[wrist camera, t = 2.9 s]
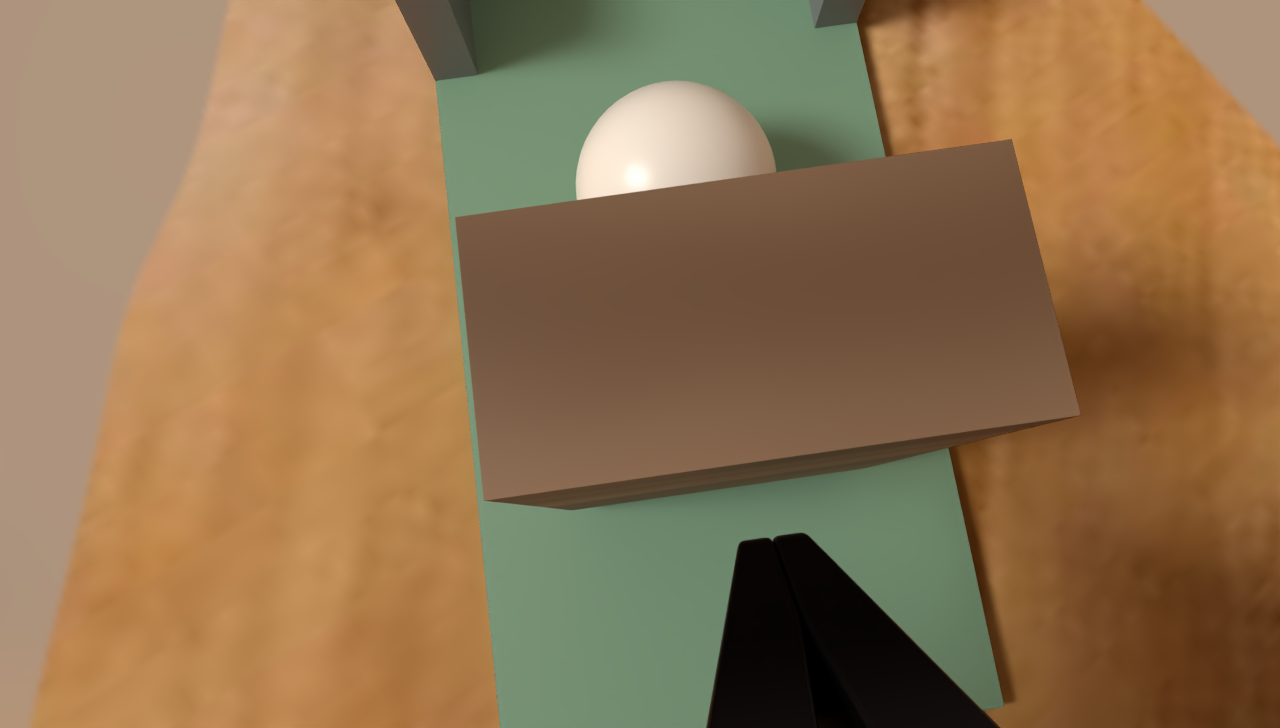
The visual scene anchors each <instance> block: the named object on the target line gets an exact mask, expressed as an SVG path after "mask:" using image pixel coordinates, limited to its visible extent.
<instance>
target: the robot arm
mask: <svg viewBox="0 0 1280 728" xmlns="http://www.w3.org/2000/svg"><path fill="white" fill-rule="evenodd" d="M706 728H1000V727H999V726H998V725H997V724H996V723H995V722H994V721H993V720H992V719H991V718H990V717H989V716H988V715H987V714H986V713H985V712H984V711H983V710H982V709H981V708H980V707H979V706H978V705H977V704H976V703H975V702H974V701H973V700H972V699H971V698H970V697H969V696H968V695H967V694H966V693H965V692H964V691H963V690H962V689H961V688H960V687H959V686H958V685H957V684H956V683H955V682H954V681H953V680H952V679H951V678H950V677H949V676H948V675H947V674H946V673H945V672H944V671H943V670H942V669H941V668H940V667H939V666H938V665H937V664H936V663H935V662H934V661H933V660H932V659H931V658H930V657H929V656H928V655H927V654H926V653H925V652H924V651H923V650H922V649H921V648H920V647H919V646H918V645H917V644H916V643H915V642H914V641H913V640H912V639H911V638H910V637H909V636H908V635H907V634H906V633H905V632H904V631H903V630H902V629H901V628H900V627H899V626H898V625H897V624H896V623H895V622H894V621H893V620H892V619H891V618H890V617H889V616H888V615H887V614H886V613H885V612H884V611H883V610H882V609H881V608H880V607H879V606H878V605H877V604H876V603H875V602H874V600H873V599H872V598H871V597H870V596H869V595H868V594H867V593H866V592H865V591H864V590H863V589H862V588H861V587H860V586H859V585H858V584H857V583H856V582H855V581H854V580H853V579H852V578H851V577H850V576H849V575H848V574H847V573H846V572H845V571H844V570H843V569H842V568H841V567H840V566H839V565H838V564H837V563H836V562H835V561H834V560H833V559H832V558H831V557H830V556H829V555H828V554H827V553H826V552H825V551H824V550H823V549H822V548H821V547H820V546H819V545H818V544H817V543H816V542H815V541H814V540H813V539H812V538H811V537H810V536H809V535H807V534H805V533H793V534H786V535H779V536H776V537H775V538H774V539H773V541H772V540H771V539H770V538H758V539H751V540H744V541H741V542H740V543H739V545H738V548H737V554H736V560H735V565H734V571H733V577H732V582H731V588H730V594H729V600H728V605H727V611H726V617H725V622H724V628H723V634H722V639H721V645H720V651H719V657H718V662H717V668H716V674H715V679H714V685H713V691H712V697H711V702H710V708H709V714H708V719H707V725H706Z"/></svg>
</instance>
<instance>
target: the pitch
mask: <svg viewBox="0 0 1280 728" xmlns="http://www.w3.org/2000/svg"><path fill="white" fill-rule="evenodd" d="M470 9H471V18H472V27H473V36H474V45H475V54H476V63H477V72H478V75H475V76H467V77H460V78H453V79H446V80H438V81H436V90H437V100H438V110H439V120H440V130H441V140H442V150H443V160H444V170H445V180H446V190H447V200H448V210H449V220H450V230H451V240H452V250H453V260H454V270H455V280H456V290H457V300H458V310H459V320H460V330H461V340H462V350H463V360H464V370H465V380H466V390H467V400H468V410H469V420H470V431H471V441H472V451H473V461H474V471H475V481H476V491H477V501H478V511H479V521H480V531H481V541H482V551H483V561H484V571H485V581H486V591H487V601H488V611H489V621H490V631H491V641H492V651H493V661H494V671H495V681H496V691H497V701H498V711H499V721H500V728H706V725H707V719H708V714H709V708H710V702H711V697H712V691H713V685H714V679H715V674H716V668H717V662H718V657H719V651H720V645H721V639H722V634H723V628H724V622H725V617H726V611H727V605H728V600H729V594H730V588H731V582H732V577H733V571H734V565H735V560H736V554H737V548H738V545H739V543H740V542H741V541H744V540H751V539H758V538H770V539H771V540H772V541H773V539H774V538H775V537H776V536H779V535H786V534H793V533H805V534H807V535H809V536H810V537H811V538H812V539H813V540H814V541H815V542H816V543H817V544H818V545H819V546H820V547H821V548H822V549H823V550H824V551H825V552H826V553H827V554H828V555H829V556H830V557H831V558H832V559H833V560H834V561H835V562H836V563H837V564H838V565H839V566H840V567H841V568H842V569H843V570H844V571H845V572H846V573H847V574H848V575H849V576H850V577H851V578H852V579H853V580H854V581H855V582H856V583H857V584H858V585H859V586H860V587H861V588H862V589H863V590H864V591H865V592H866V593H867V594H868V595H869V596H870V597H871V598H872V599H873V600H874V602H875V603H876V604H877V605H878V606H879V607H880V608H881V609H882V610H883V611H884V612H885V613H886V614H887V615H888V616H889V617H890V618H891V619H892V620H893V621H894V622H895V623H896V624H897V625H898V626H899V627H900V628H901V629H902V630H903V631H904V632H905V633H906V634H907V635H908V636H909V637H910V638H911V639H912V640H913V641H914V642H915V643H916V644H917V645H918V646H919V647H920V648H921V649H922V650H923V651H924V652H925V653H926V654H927V655H928V656H929V657H930V658H931V659H932V660H933V661H934V662H935V663H936V664H937V665H938V666H939V667H940V668H941V669H942V670H943V671H944V672H945V673H946V674H947V675H948V676H949V677H950V678H951V679H952V680H953V681H954V682H955V683H956V684H957V685H958V686H959V687H960V688H961V689H962V690H963V691H964V692H965V693H966V694H967V695H968V696H969V697H970V698H971V699H972V700H973V701H974V702H975V703H976V704H977V705H978V706H979V707H980V708H981V709H982V710H986V709H993V708H1000V707H1004V703H1003V698H1002V694H1001V689H1000V685H999V680H998V675H997V671H996V666H995V661H994V657H993V652H992V648H991V643H990V638H989V634H988V629H987V624H986V620H985V615H984V610H983V606H982V601H981V597H980V592H979V587H978V583H977V578H976V573H975V569H974V564H973V560H972V555H971V550H970V546H969V541H968V536H967V532H966V527H965V522H964V518H963V513H962V509H961V504H960V499H959V495H958V490H957V485H956V481H955V476H954V472H953V467H952V462H951V458H950V453H949V448H945V449H941V450H937V451H933V452H929V453H925V454H921V455H917V456H913V457H909V458H905V459H900V460H896V461H892V462H888V463H884V464H880V465H876V466H872V467H868V468H864V469H858V470H851V471H844V472H837V473H830V474H823V475H816V476H809V477H802V478H795V479H788V480H781V481H774V482H767V483H760V484H753V485H746V486H739V487H732V488H725V489H718V490H711V491H704V492H697V493H690V494H683V495H676V496H669V497H662V498H655V499H648V500H641V501H634V502H627V503H620V504H614V505H607V506H600V507H593V508H586V509H579V510H563V509H554V508H545V507H536V506H527V505H518V504H509V503H500V502H491V501H484V498H483V488H482V478H481V469H480V459H479V449H478V439H477V429H476V419H475V409H474V399H473V390H472V380H471V370H470V360H469V350H468V340H467V330H466V320H465V311H464V301H463V291H462V281H461V271H460V261H459V251H458V241H457V232H456V222H455V217H460V216H467V215H474V214H482V213H489V212H496V211H503V210H510V209H517V208H524V207H532V206H539V205H546V204H553V203H560V202H567V201H574V200H577V196H576V171H577V166H578V162H579V157H580V153H581V150H582V148H583V145H584V142H585V140H586V138H587V136H588V135H589V133H590V131H591V129H592V128H593V126H594V125H595V123H596V122H597V121H598V119H599V118H600V117H601V116H602V114H603V113H604V112H605V111H606V110H607V109H608V108H609V107H610V106H612V105H613V104H614V103H615V102H616V101H618V100H619V99H621V98H622V97H624V96H626V95H627V94H629V93H630V92H632V91H634V90H637V89H639V88H641V87H644V86H647V85H650V84H653V83H658V82H663V81H675V80H677V81H691V82H697V83H701V84H705V85H708V86H711V87H714V88H716V89H718V90H721V91H722V92H724V93H726V94H728V95H729V96H731V97H732V98H734V99H735V100H736V101H738V102H739V103H740V104H741V105H743V106H744V107H745V108H746V109H747V110H748V111H749V112H750V113H751V114H752V115H753V117H754V118H755V119H756V120H757V122H758V123H759V124H760V126H761V128H762V130H763V131H764V133H765V135H766V137H767V139H768V141H769V144H770V146H771V149H772V152H773V156H774V160H775V165H776V172H782V171H789V170H796V169H803V168H810V167H817V166H824V165H832V164H839V163H846V162H853V161H860V160H867V159H874V158H881V157H885V152H884V147H883V143H882V138H881V133H880V129H879V124H878V120H877V115H876V110H875V106H874V101H873V96H872V92H871V87H870V83H869V78H868V73H867V69H866V64H865V59H864V55H863V50H862V45H861V41H860V36H859V32H858V27H857V23H850V24H843V25H835V26H828V27H821V28H814V23H813V18H812V13H811V8H810V3H809V0H470Z"/></svg>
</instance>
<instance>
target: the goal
mask: <svg viewBox="0 0 1280 728" xmlns="http://www.w3.org/2000/svg"><path fill="white" fill-rule="evenodd" d="M395 1H396V3H397V5H398V7H399V9H400V11H401V13H402V15H403V17H404V19H405V21H406V23H407V25H408V27H409V29H410V31H411V33H412V35H413V37H414V39H415V41H416V43H417V45H418V47H419V49H420V51H421V53H422V55H423V57H424V59H425V61H426V63H427V65H428V67H429V69H430V71H431V73H432V75H433V77H434V79H435V81H438V80H446V79H453V78H460V77H467V76H475V75H478V72H477V63H476V54H475V45H474V36H473V27H472V18H471V9H470V0H395ZM865 1H866V0H809V3H810V8H811V13H812V18H813V23H814V28H821V27H828V26H835V25H843V24H850V23H857V20H858V18H859V15H860V13H861V10H862V8H863V5H864V3H865Z"/></svg>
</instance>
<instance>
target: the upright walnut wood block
mask: <svg viewBox="0 0 1280 728" xmlns="http://www.w3.org/2000/svg"><path fill="white" fill-rule="evenodd" d="M455 222H456V232H457V241H458V251H459V261H460V271H461V281H462V291H463V301H464V311H465V320H466V330H467V340H468V350H469V360H470V370H471V380H472V390H473V399H474V409H475V419H476V429H477V439H478V449H479V459H480V469H481V478H482V488H483V498H484V501H491V502H500V503H509V504H518V505H527V506H536V507H545V508H554V509H563V510H579V509H586V508H593V507H600V506H607V505H614V504H620V503H627V502H634V501H641V500H648V499H655V498H662V497H669V496H676V495H683V494H690V493H697V492H704V491H711V490H718V489H725V488H732V487H739V486H746V485H753V484H760V483H767V482H774V481H781V480H788V479H795V478H802V477H809V476H816V475H823V474H830V473H837V472H844V471H851V470H858V469H864V468H868V467H872V466H876V465H880V464H884V463H888V462H892V461H896V460H900V459H905V458H909V457H913V456H917V455H921V454H925V453H929V452H933V451H937V450H941V449H945V448H949V447H953V446H958V445H962V444H966V443H970V442H974V441H978V440H982V439H986V438H990V437H994V436H998V435H1002V434H1006V433H1011V432H1015V431H1019V430H1023V429H1027V428H1031V427H1035V426H1039V425H1043V424H1047V423H1051V422H1055V421H1059V420H1064V419H1068V418H1072V417H1076V416H1080V415H1081V414H1080V410H1079V406H1078V402H1077V398H1076V394H1075V390H1074V386H1073V382H1072V378H1071V374H1070V370H1069V366H1068V362H1067V358H1066V354H1065V350H1064V346H1063V342H1062V338H1061V334H1060V330H1059V326H1058V322H1057V318H1056V314H1055V310H1054V306H1053V302H1052V298H1051V294H1050V290H1049V286H1048V282H1047V278H1046V274H1045V270H1044V266H1043V262H1042V258H1041V254H1040V250H1039V246H1038V242H1037V238H1036V234H1035V230H1034V226H1033V222H1032V218H1031V214H1030V210H1029V206H1028V202H1027V198H1026V194H1025V190H1024V186H1023V182H1022V178H1021V174H1020V170H1019V166H1018V162H1017V158H1016V154H1015V150H1014V146H1013V142H1012V139H1010V140H1003V141H996V142H989V143H981V144H974V145H967V146H960V147H953V148H946V149H939V150H931V151H924V152H917V153H910V154H903V155H896V156H889V157H881V158H874V159H867V160H860V161H853V162H846V163H839V164H832V165H824V166H817V167H810V168H803V169H796V170H789V171H782V172H774V173H767V174H760V175H753V176H746V177H739V178H732V179H724V180H717V181H710V182H703V183H696V184H689V185H682V186H674V187H667V188H660V189H653V190H646V191H639V192H632V193H624V194H617V195H610V196H603V197H596V198H589V199H582V200H574V201H567V202H560V203H553V204H546V205H539V206H532V207H524V208H517V209H510V210H503V211H496V212H489V213H482V214H474V215H467V216H460V217H455Z"/></svg>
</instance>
